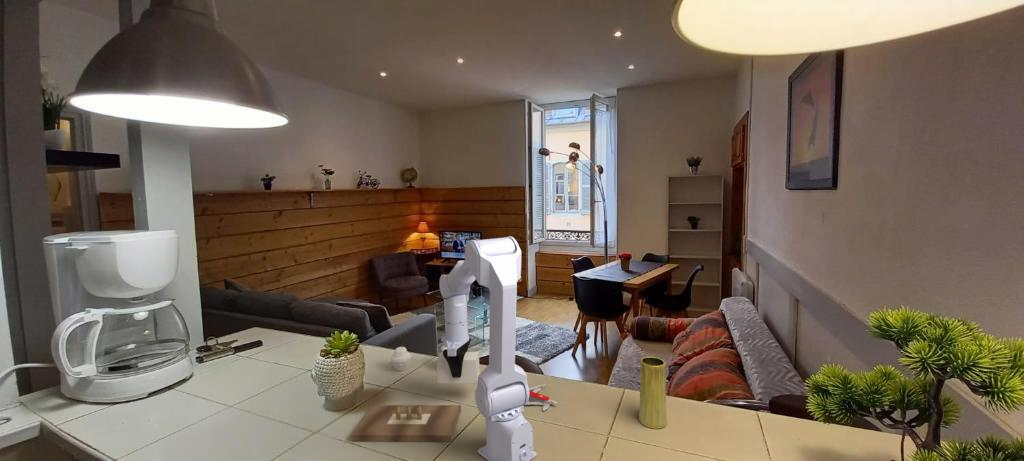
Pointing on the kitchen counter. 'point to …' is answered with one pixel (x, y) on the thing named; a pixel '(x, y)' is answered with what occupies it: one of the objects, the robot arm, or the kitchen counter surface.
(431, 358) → the kitchen counter surface
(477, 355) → the block
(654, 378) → the vase
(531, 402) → the swiss army knife
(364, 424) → the pin board
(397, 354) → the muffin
